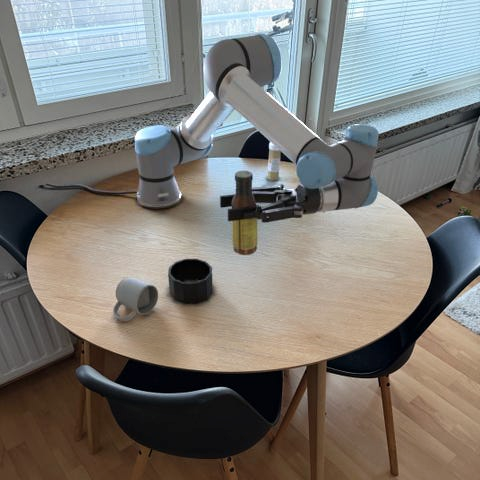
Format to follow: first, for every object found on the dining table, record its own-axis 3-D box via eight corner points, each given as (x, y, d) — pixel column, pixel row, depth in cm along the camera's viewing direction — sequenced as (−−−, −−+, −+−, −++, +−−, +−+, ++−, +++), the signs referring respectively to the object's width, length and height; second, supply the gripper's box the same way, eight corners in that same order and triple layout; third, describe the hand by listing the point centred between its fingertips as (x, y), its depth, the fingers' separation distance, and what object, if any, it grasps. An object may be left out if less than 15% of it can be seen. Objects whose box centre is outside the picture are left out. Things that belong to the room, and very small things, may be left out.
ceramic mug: (136, 293, 113) (131, 268, 108) (160, 304, 110) (156, 279, 105) (106, 315, 107) (99, 291, 102) (131, 328, 103) (125, 303, 98)
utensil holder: (162, 296, 113) (159, 275, 108) (185, 274, 120) (183, 254, 116) (198, 309, 109) (197, 288, 105) (220, 285, 116) (219, 265, 112)
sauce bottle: (260, 246, 112) (264, 171, 99) (250, 259, 108) (253, 181, 95) (237, 240, 114) (238, 166, 101) (227, 252, 110) (226, 176, 97)
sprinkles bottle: (266, 175, 171) (269, 140, 162) (278, 176, 171) (281, 141, 162) (267, 180, 168) (269, 145, 159) (279, 181, 168) (282, 145, 159)
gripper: (329, 229, 103) (235, 243, 97) (298, 195, 116) (214, 205, 111) (335, 200, 98) (235, 212, 92) (301, 167, 111) (213, 176, 106)
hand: (224, 208), depth 102 cm, fingers closed on sauce bottle, 6 cm apart
